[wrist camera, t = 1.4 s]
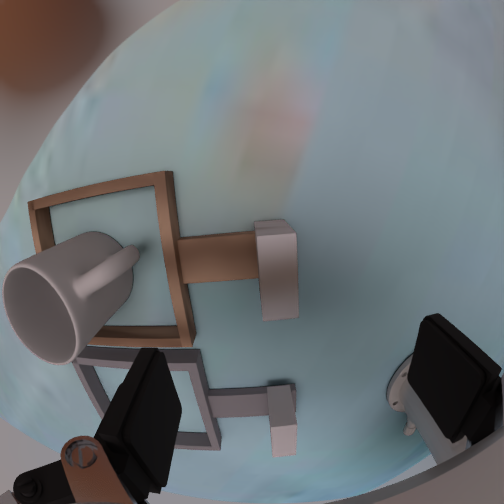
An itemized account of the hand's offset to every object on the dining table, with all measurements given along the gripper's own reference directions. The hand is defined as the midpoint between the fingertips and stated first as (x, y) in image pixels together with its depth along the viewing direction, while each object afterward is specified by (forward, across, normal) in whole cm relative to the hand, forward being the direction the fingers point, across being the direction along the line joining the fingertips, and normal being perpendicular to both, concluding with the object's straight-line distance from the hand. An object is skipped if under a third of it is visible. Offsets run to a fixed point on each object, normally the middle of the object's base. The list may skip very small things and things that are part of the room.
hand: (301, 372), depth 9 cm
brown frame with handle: (+17, +12, 0) cm, 21 cm away
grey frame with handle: (+17, +11, +18) cm, 27 cm away
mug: (+17, +16, 0) cm, 23 cm away
